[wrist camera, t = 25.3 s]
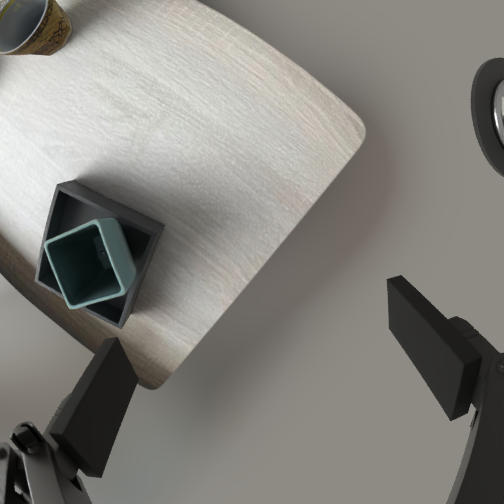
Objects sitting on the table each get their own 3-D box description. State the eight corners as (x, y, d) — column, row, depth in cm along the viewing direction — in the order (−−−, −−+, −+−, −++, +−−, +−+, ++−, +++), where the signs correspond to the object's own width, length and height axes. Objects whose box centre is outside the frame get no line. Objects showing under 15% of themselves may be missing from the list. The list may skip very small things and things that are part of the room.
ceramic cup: (75, -4, 30) (43, -29, 20) (88, 42, 33) (53, 22, 23) (11, 42, 31) (-27, 30, 21) (21, 89, 34) (-21, 83, 24)
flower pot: (77, 228, 40) (41, 242, 32) (128, 206, 40) (97, 218, 31) (99, 285, 42) (69, 310, 34) (151, 269, 42) (127, 294, 33)
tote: (165, 224, 41) (157, 233, 37) (130, 314, 45) (121, 329, 41) (72, 179, 39) (56, 184, 35) (48, 270, 43) (34, 281, 39)
